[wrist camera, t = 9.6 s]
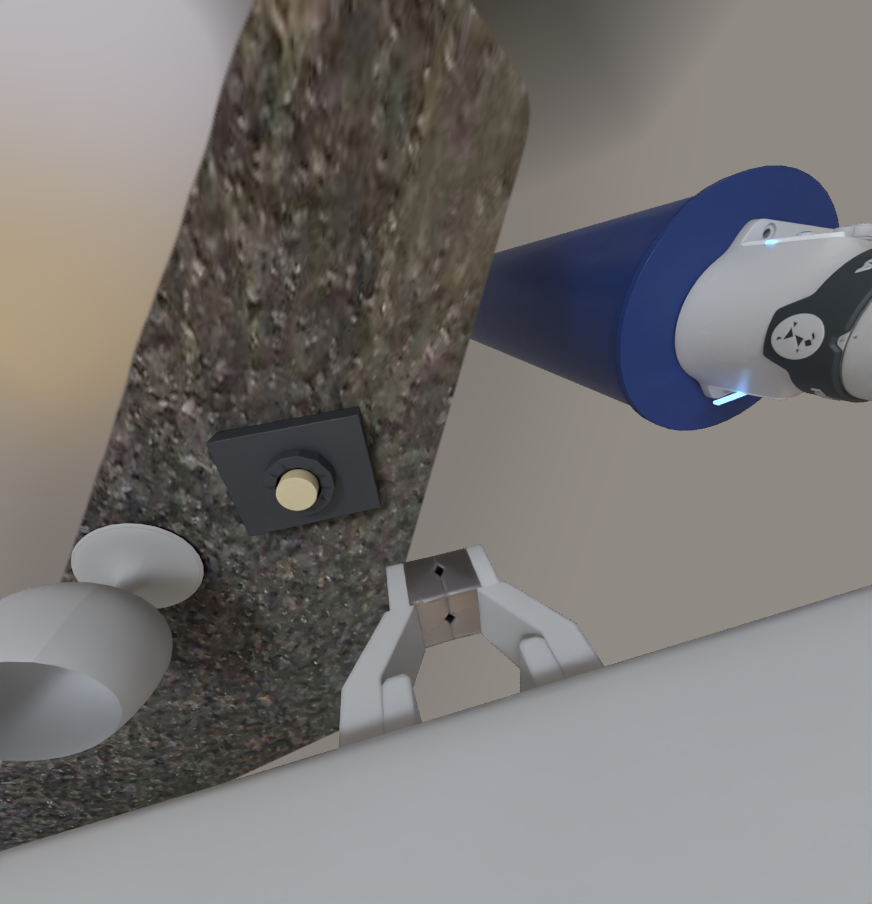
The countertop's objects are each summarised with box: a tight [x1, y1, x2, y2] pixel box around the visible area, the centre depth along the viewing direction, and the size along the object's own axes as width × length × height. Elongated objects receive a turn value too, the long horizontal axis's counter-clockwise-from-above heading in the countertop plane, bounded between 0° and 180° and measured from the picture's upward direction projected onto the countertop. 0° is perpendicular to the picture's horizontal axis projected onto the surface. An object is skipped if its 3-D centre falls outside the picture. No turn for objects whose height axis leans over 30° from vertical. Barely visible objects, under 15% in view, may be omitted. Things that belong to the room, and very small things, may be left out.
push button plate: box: [206, 407, 381, 536], centre depth 35 cm, size 14×11×4 cm
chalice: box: [0, 523, 204, 761], centre depth 31 cm, size 14×14×15 cm
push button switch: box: [276, 469, 319, 511], centre depth 32 cm, size 4×4×2 cm
